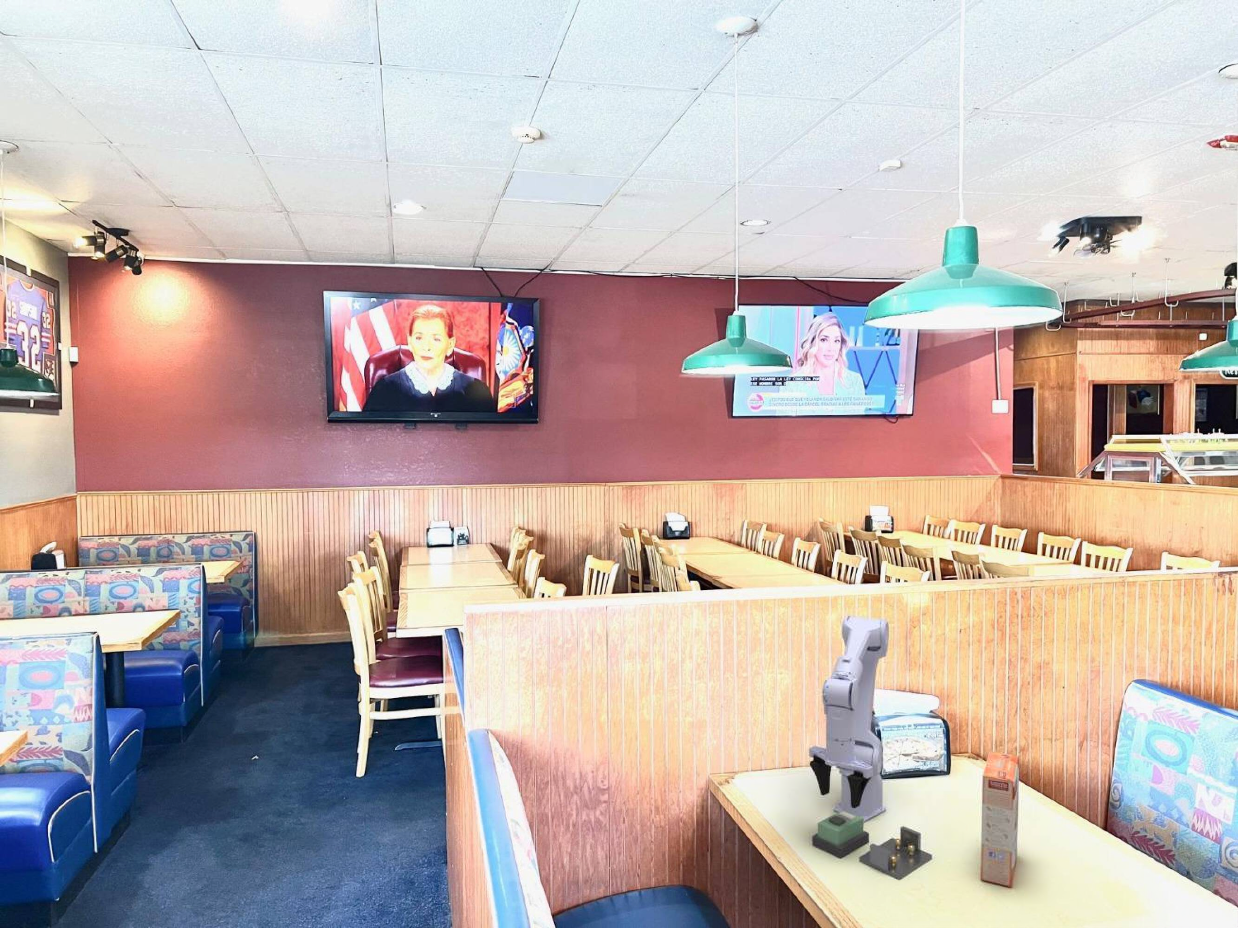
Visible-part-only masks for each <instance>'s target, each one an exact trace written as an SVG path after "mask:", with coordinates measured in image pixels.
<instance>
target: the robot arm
mask: <svg viewBox="0 0 1238 928" xmlns="http://www.w3.org/2000/svg"><path fill="white" fill-rule="evenodd" d="M841 635H842V639H843V642H844V646H845V650H844V654H843V655H840V656H839V657H838V658H837V659H836V662H835V664H834V667H833V670H832V673H831V676H830V677H829V678H828V679H825V680H824V682H823V685H822V691H821V700H822V704H823V713H824V715H825V748H824V747H821V746H817V745H813V746H811V747H808V752H809V753H808V756H809V757H810V758H812V760H811V761H809V767H810V768H811V770H812V771H813V773H814V775H815V779H816V782H817V785H818V787H819V793H820V796H826V795H829V794H830V790H831V772H832V767H835V769H837V770H838V773H839V774H841V775H840V776H841V783H840V785H841V789H840V791H841V798H840V799H841V803H840V804H838V805H837V806H834V807H833V809H832V810H833V811H835V812H836V813H838V812H840V811H842V810H845V811H848V812H850V813H852V814H855V815H857V816H860V817H862V818H864V823H865V822H866V821H869V820H870V819H873V818H874V817H875V816H878V815H880V814H882V813H884V812H886V810H887V807H885V806H883V799H884V798H883V794H884V793H883V789H884V788H883V787H884V786H883V779H882V776H881V774H880V773H881V770H882V766H883V765H882V764H883V753H882V748H883V745H882V741H881V740H880V738H879V737H877V736H876V734H875V733H873V731H872V730H871V729H872V717H873V709H874V708H873V706H874V698H875V697H874V696H875V687H876V676H877V667H878V663H879V660H880V659H882V658H884V657H887V653H888V650H889V649H888V648H889V639H890V627H889V622H888V621H887V619H885V618H882V619H881V618H871V617H869V618H868V617H861V616H860V617H859V616H851V615H846V616H845V617H844V618H843V620H842V624H841Z"/></svg>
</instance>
